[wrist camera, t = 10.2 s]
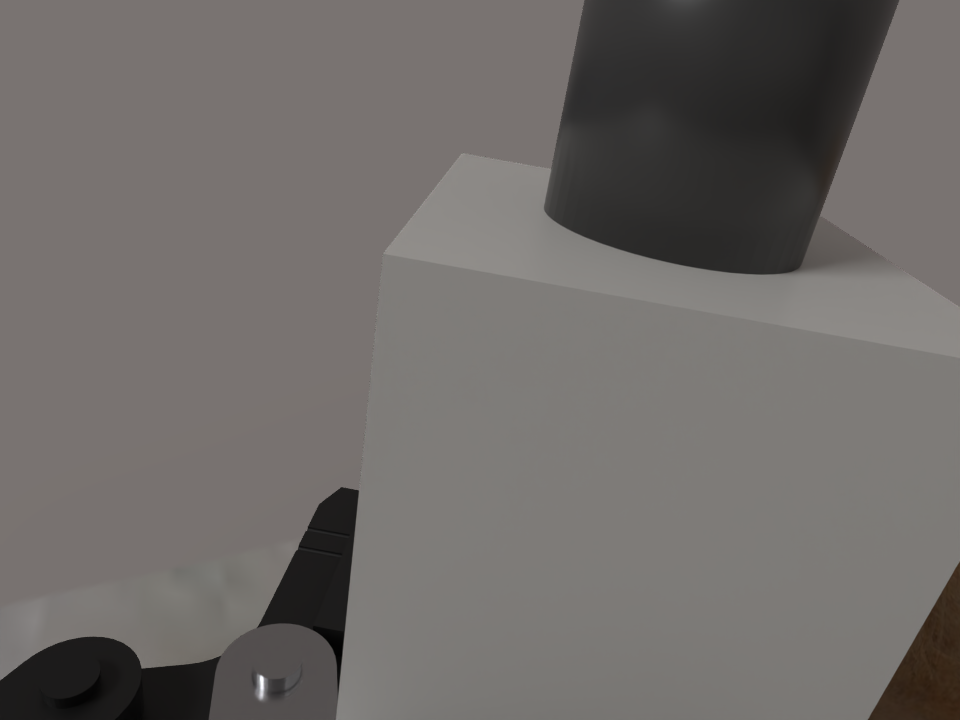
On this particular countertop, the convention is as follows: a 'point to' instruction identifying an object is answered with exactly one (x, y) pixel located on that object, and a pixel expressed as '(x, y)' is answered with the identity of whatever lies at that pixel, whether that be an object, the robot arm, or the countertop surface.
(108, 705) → the robot arm
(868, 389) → the white square bottle
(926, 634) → the stone cup
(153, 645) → the countertop surface
